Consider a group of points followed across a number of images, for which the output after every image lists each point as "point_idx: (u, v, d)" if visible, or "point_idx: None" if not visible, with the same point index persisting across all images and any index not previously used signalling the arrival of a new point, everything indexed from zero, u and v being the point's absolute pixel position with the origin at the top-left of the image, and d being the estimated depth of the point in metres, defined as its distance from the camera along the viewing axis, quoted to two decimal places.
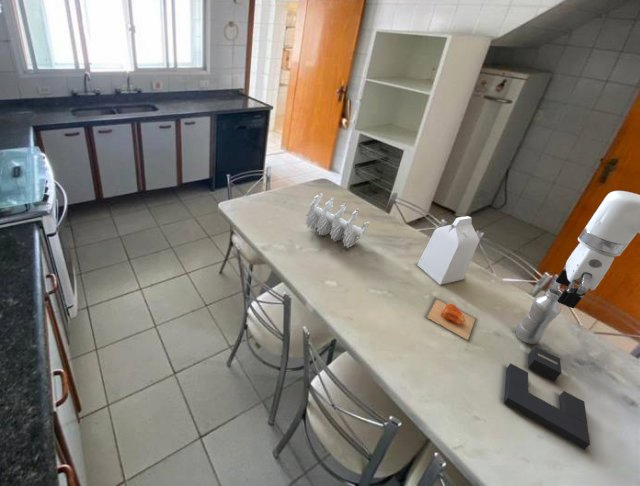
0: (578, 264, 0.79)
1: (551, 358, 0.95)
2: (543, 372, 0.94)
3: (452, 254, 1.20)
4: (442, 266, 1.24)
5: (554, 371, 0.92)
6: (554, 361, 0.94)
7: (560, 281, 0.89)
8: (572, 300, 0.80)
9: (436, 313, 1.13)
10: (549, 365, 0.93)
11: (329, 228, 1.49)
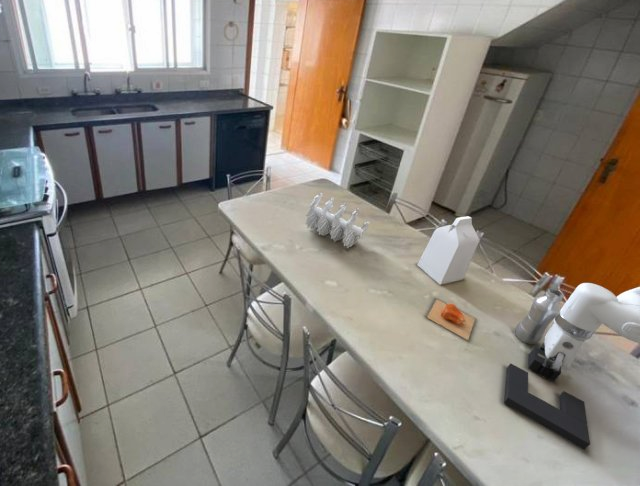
0: (553, 344, 0.89)
1: None
2: None
3: (452, 254, 1.20)
4: (442, 266, 1.24)
5: None
6: None
7: None
8: (547, 372, 0.92)
9: (436, 313, 1.12)
10: None
11: (329, 228, 1.49)
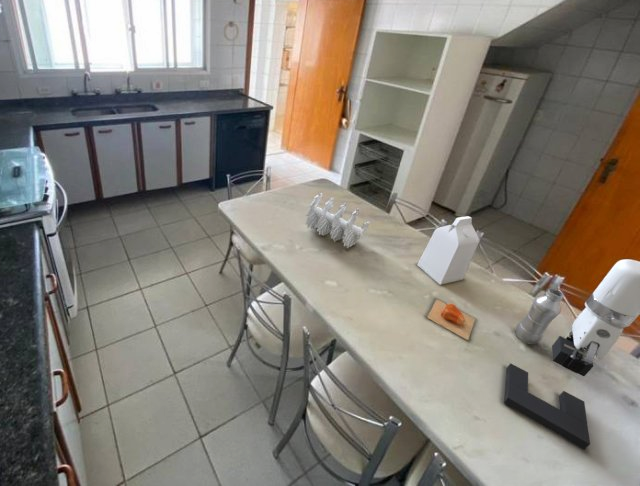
0: (585, 332, 0.76)
1: None
2: None
3: (452, 254, 1.20)
4: (442, 266, 1.24)
5: None
6: (583, 352, 0.81)
7: None
8: (576, 366, 0.79)
9: (436, 313, 1.12)
10: None
11: (329, 228, 1.49)
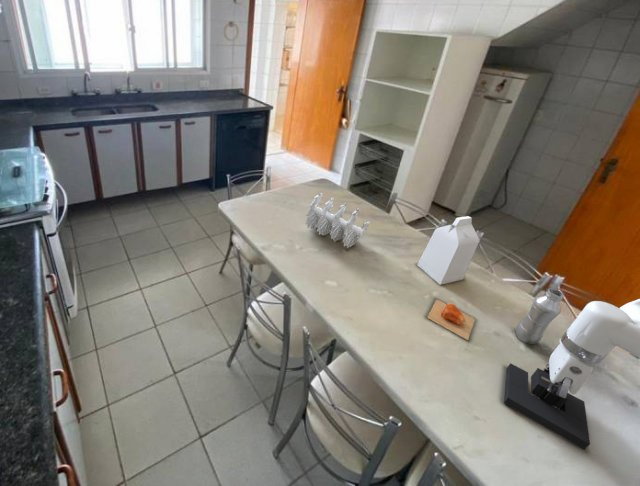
0: (560, 368, 0.80)
1: None
2: None
3: (452, 254, 1.20)
4: (442, 266, 1.24)
5: None
6: None
7: None
8: (552, 399, 0.83)
9: (436, 313, 1.12)
10: None
11: (329, 228, 1.49)
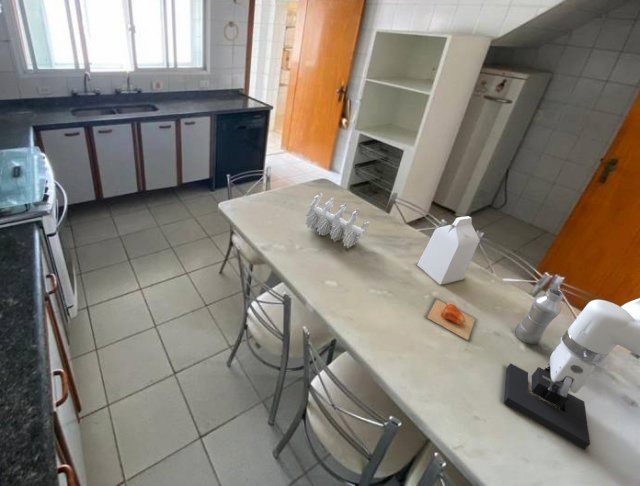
0: (561, 367, 0.80)
1: None
2: None
3: (452, 254, 1.20)
4: (442, 266, 1.24)
5: None
6: None
7: None
8: (553, 398, 0.83)
9: (436, 313, 1.12)
10: None
11: (329, 228, 1.49)
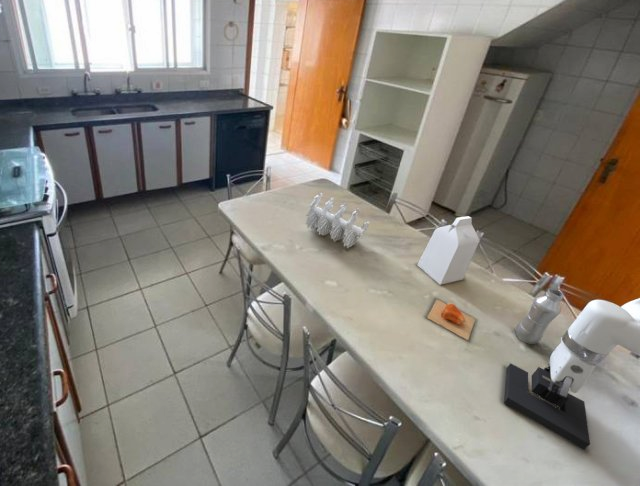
0: (561, 367, 0.80)
1: None
2: None
3: (452, 254, 1.20)
4: (442, 266, 1.24)
5: None
6: None
7: None
8: (553, 398, 0.83)
9: (436, 313, 1.12)
10: None
11: (329, 228, 1.49)
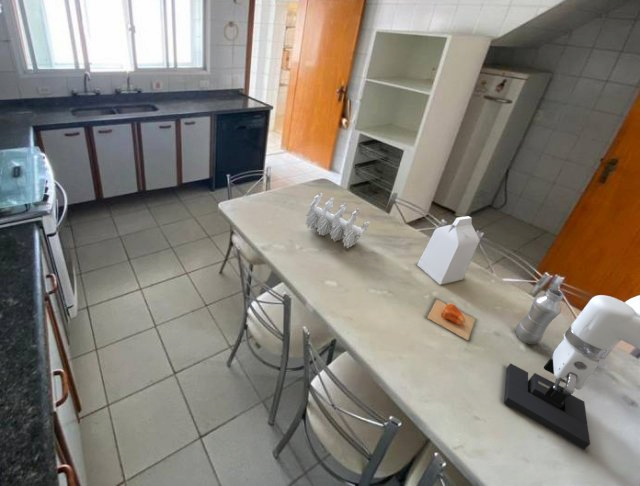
0: (564, 363, 0.79)
1: None
2: None
3: (452, 254, 1.20)
4: (442, 266, 1.24)
5: None
6: None
7: (548, 369, 0.89)
8: (558, 397, 0.81)
9: (436, 313, 1.12)
10: None
11: (329, 228, 1.49)
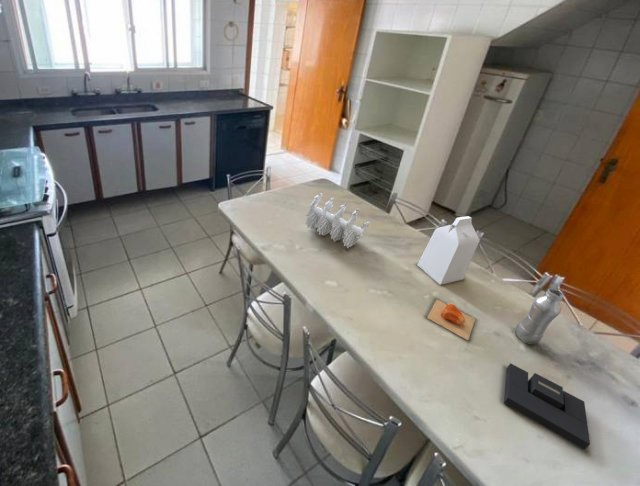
0: None
1: (553, 387, 0.87)
2: None
3: (452, 254, 1.20)
4: (442, 266, 1.24)
5: (556, 402, 0.84)
6: (556, 390, 0.86)
7: None
8: None
9: (436, 313, 1.12)
10: (551, 395, 0.85)
11: (329, 228, 1.49)
